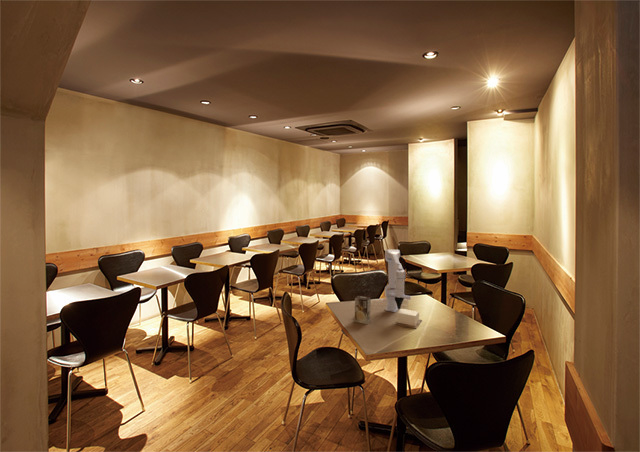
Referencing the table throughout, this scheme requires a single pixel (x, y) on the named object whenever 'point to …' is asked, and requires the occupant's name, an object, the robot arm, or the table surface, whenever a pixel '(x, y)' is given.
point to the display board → (410, 325)
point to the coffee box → (362, 309)
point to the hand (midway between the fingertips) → (399, 308)
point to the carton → (408, 317)
